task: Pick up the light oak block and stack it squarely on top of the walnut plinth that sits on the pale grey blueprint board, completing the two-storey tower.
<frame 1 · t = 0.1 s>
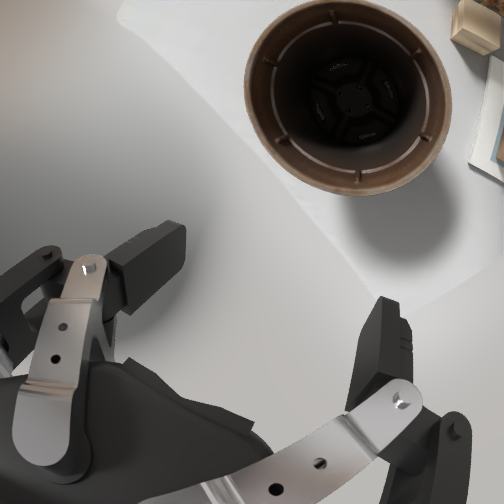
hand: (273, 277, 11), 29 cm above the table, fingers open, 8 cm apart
oak block: (468, 32, 19), on the table
plant pot: (355, 101, 31), on the table
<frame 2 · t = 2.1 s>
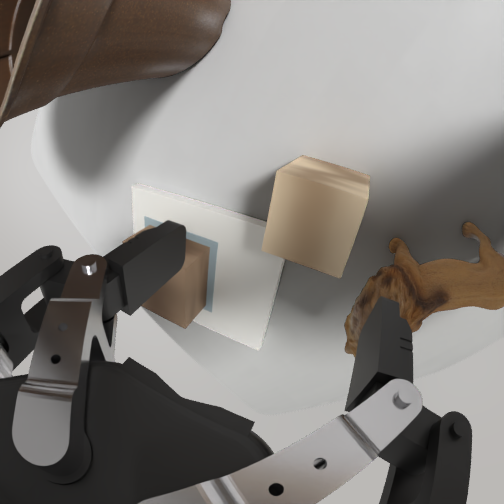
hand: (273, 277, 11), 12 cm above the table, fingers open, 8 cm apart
blueprint board: (200, 267, 28), on the table
oak block: (328, 196, 20), on the table
lion figurine: (435, 257, 19), on the table
plant pot: (170, 18, 18), on the table
walnut plinth: (178, 265, 28), resting on blueprint board
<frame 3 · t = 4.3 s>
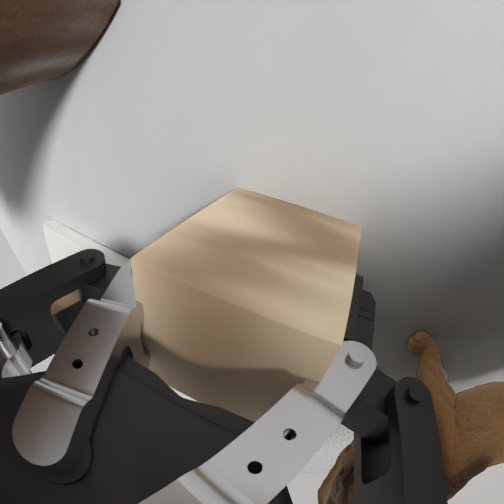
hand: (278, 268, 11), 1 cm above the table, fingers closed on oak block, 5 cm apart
blueprint board: (129, 329, 20), on the table
oak block: (284, 260, 12), on the table, touching gripper
lion figurine: (475, 351, 10), on the table
walnut plinth: (103, 325, 20), resting on blueprint board
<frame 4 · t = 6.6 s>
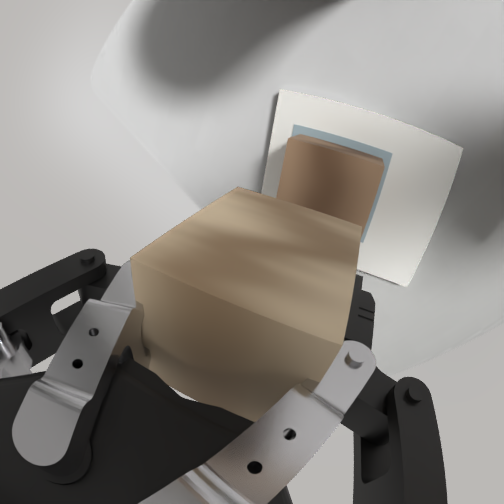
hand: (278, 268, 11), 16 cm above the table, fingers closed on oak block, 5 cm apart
blueprint board: (354, 188, 23), on the table
oak block: (284, 260, 12), point 15 cm above the table, touching gripper
walnut plinth: (331, 184, 23), resting on blueprint board
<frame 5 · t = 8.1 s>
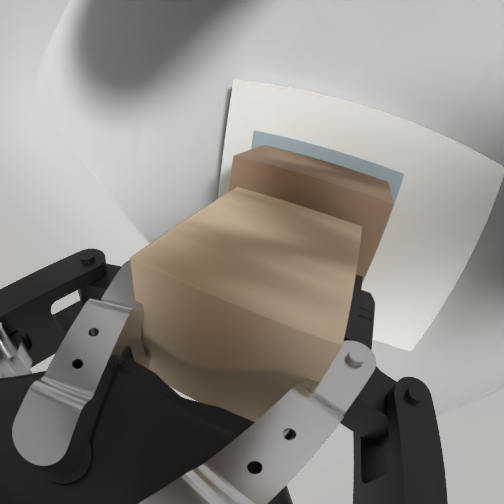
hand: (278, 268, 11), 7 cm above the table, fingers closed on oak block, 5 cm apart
blueprint board: (345, 223, 17), on the table
oak block: (284, 260, 12), point 6 cm above the table, touching gripper
walnut plinth: (311, 218, 16), resting on blueprint board
when the fingers open (6 cm above the table, at t = 9.1 s): oak block stays where it is, resting on walnut plinth.
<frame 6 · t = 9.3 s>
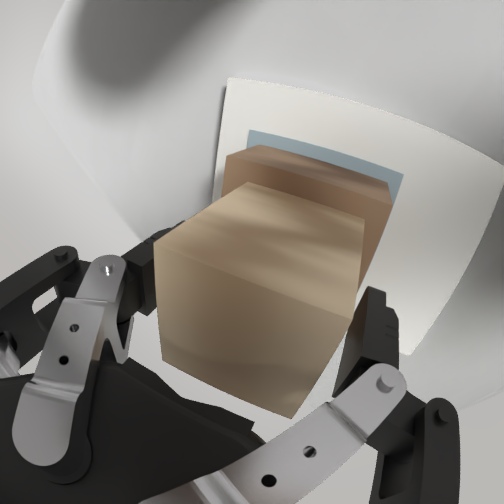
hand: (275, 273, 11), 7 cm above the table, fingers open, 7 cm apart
blueprint board: (343, 225, 16), on the table
oak block: (291, 251, 12), point 5 cm above the table, touching walnut plinth
walnut plinth: (307, 220, 16), resting on blueprint board
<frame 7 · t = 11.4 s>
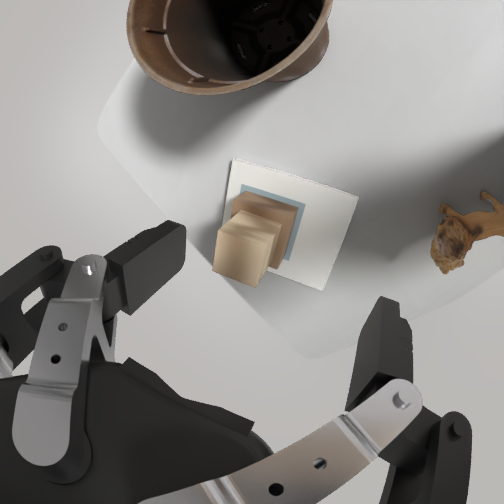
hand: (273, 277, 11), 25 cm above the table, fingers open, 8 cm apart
blueprint board: (282, 225, 38), on the table
oak block: (257, 235, 34), point 5 cm above the table, touching walnut plinth
lion figurine: (466, 215, 28), on the table
plant pot: (276, 37, 26), on the table
walnut plinth: (266, 223, 37), resting on blueprint board
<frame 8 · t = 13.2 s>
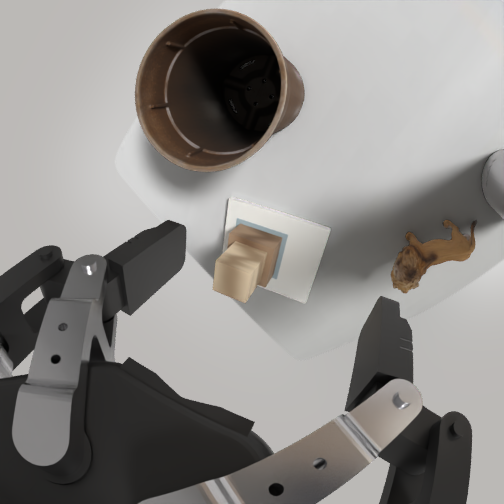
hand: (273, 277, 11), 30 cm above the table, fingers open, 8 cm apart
blueprint board: (271, 250, 46), on the table
oak block: (248, 260, 43), point 5 cm above the table, touching walnut plinth
lion figurine: (431, 240, 35), on the table
plant pot: (261, 94, 35), on the table
walnut plinth: (257, 249, 46), resting on blueprint board
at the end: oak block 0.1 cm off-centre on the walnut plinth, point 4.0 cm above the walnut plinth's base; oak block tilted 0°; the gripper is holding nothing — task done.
